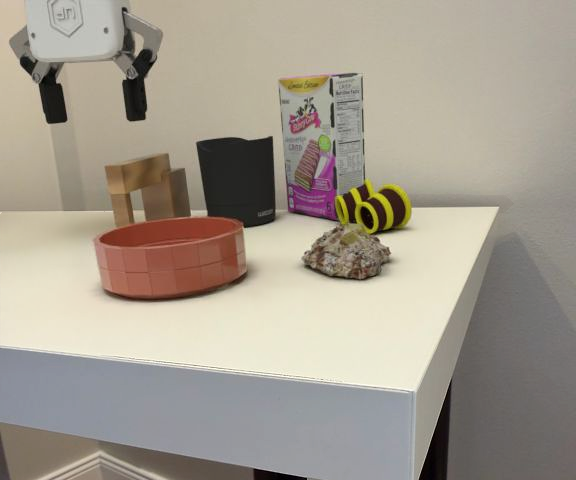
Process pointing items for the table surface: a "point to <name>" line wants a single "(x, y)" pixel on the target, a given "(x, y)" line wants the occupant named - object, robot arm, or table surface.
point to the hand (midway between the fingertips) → (96, 121)
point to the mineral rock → (347, 252)
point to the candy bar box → (322, 140)
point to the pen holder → (238, 178)
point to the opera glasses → (374, 207)
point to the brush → (148, 188)
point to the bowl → (171, 256)
